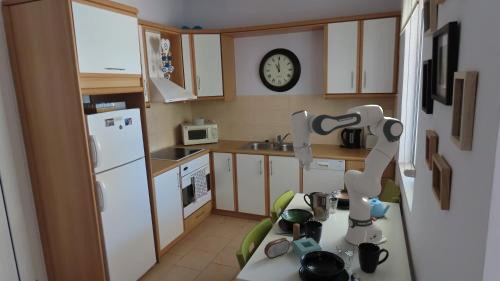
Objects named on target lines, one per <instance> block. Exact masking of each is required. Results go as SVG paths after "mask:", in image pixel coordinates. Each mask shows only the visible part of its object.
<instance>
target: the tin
mask: <svg viewBox="0 0 500 281" xmlns="http://www.w3.org/2000/svg"><path fill="white" fill-rule="evenodd" d="M290 244H291V243H290V241H289V240H288V239H287V238H286V237H281V238H280V237H279V238H277V239H273V240H272V241H268V242H267V244H266V245H265V247H264V250H263V252H264V255H265V256H267V257H268V258H269V259H273V258H276V257H279V256H281V255H282V256H283V255H284V254H286V253H287V252H288V251H289V249H290Z"/></svg>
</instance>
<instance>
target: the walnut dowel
mask: <svg viewBox="0 0 500 281" xmlns="http://www.w3.org/2000/svg"><path fill="white" fill-rule="evenodd" d="M292 229H293V231H292V239H293V240H292V242H293V241H296V240H300V223H293V224H292Z"/></svg>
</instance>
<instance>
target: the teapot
mask: <svg viewBox="0 0 500 281" xmlns="http://www.w3.org/2000/svg"><path fill="white" fill-rule="evenodd" d="M369 201H370V204H371V211H370V216H372V217H374V218H376V219H378V218H379V219H380V218H382V217H384V216H385V215H386V213H387V212H388V210H389V208H390V207H391V204H387V205H386V206H385V207H384V204H383V202H382V201H381V200H379V197H378V196H377V197H375V198H369Z"/></svg>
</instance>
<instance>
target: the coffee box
mask: <svg viewBox="0 0 500 281" xmlns="http://www.w3.org/2000/svg"><path fill="white" fill-rule="evenodd" d="M330 195H331V194H330V193H324V192H319V191H316V192H315V193H314V194H313V195H312V196H313V198H312V199H313V210H312V211H313V212H312V213H313V214H312V215H313V216H312V217H314V219H318V220H322V221H328V219H329V218H330Z"/></svg>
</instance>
